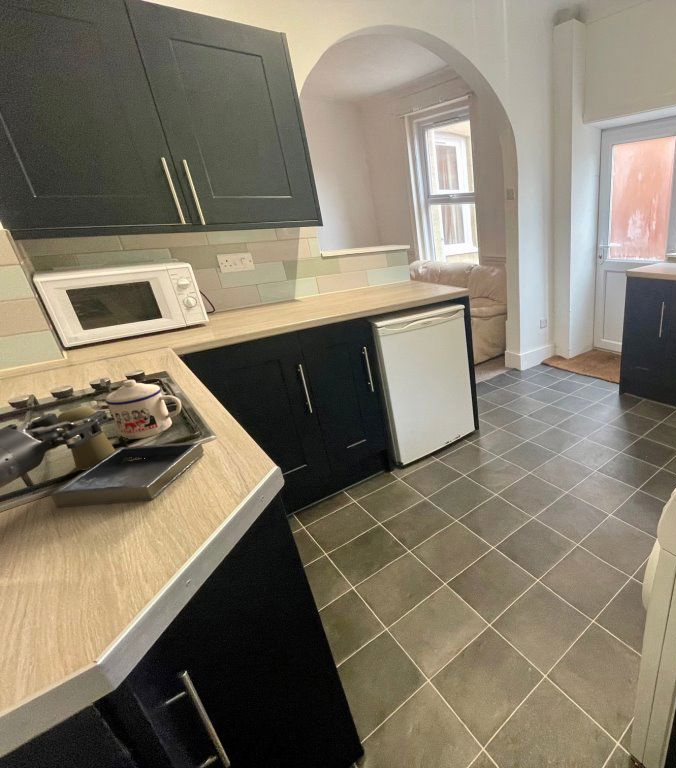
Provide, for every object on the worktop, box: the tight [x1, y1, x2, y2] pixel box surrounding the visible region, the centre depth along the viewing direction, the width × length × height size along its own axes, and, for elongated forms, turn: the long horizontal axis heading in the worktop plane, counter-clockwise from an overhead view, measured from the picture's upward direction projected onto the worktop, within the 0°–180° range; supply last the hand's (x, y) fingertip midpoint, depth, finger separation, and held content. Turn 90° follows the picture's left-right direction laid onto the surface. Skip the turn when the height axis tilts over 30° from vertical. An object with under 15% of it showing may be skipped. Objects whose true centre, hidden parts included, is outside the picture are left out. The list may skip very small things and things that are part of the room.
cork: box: [57, 406, 116, 471], centre depth 78 cm, size 6×6×11 cm
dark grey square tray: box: [49, 441, 205, 508], centre depth 74 cm, size 15×15×3 cm
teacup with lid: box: [105, 379, 182, 440], centre depth 90 cm, size 12×9×12 cm
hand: (80, 416), depth 77 cm, fingers open, 8 cm apart
